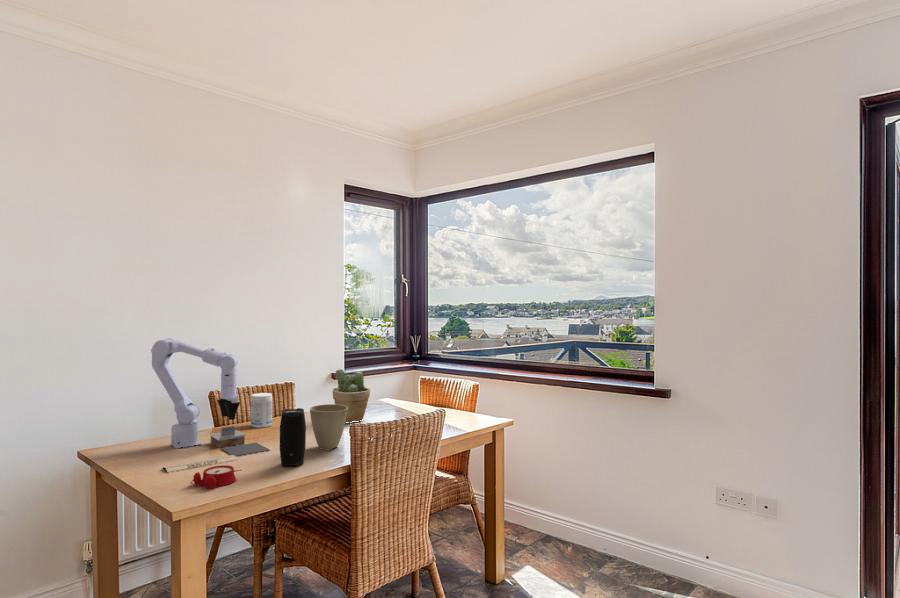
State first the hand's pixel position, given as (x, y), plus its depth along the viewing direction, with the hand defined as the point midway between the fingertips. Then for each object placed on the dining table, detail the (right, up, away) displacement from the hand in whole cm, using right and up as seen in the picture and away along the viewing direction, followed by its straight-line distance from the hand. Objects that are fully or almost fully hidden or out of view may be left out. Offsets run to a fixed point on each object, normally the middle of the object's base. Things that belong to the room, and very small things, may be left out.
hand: (228, 418), depth 222 cm
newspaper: (+2, -11, -29) cm, 31 cm away
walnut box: (0, -10, 0) cm, 10 cm away
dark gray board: (+11, -11, -9) cm, 17 cm away
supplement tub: (+3, -11, +32) cm, 34 cm away
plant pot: (+42, -11, -4) cm, 44 cm away
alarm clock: (+15, -11, -48) cm, 51 cm away
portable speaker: (+34, -11, -27) cm, 45 cm away
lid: (0, -8, 0) cm, 8 cm away
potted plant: (+42, -11, +44) cm, 62 cm away
